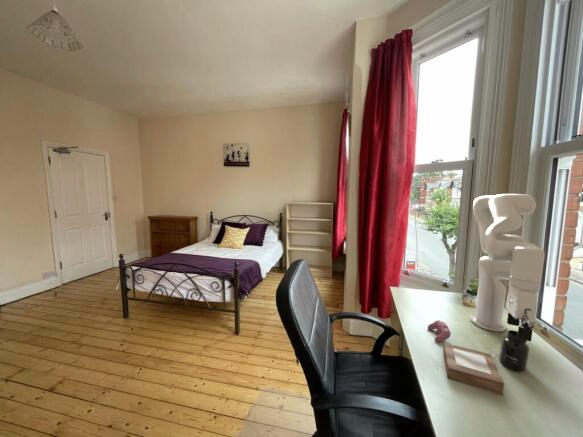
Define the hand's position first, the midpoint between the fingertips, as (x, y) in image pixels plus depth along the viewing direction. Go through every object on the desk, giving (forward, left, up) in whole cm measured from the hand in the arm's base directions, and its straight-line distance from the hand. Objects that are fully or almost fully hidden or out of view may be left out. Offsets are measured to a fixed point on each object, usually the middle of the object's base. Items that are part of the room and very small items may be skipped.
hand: (518, 331), depth 82 cm
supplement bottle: (-1, 0, -14) cm, 13 cm away
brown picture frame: (+9, -14, -13) cm, 21 cm away
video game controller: (-9, -22, -14) cm, 27 cm away
